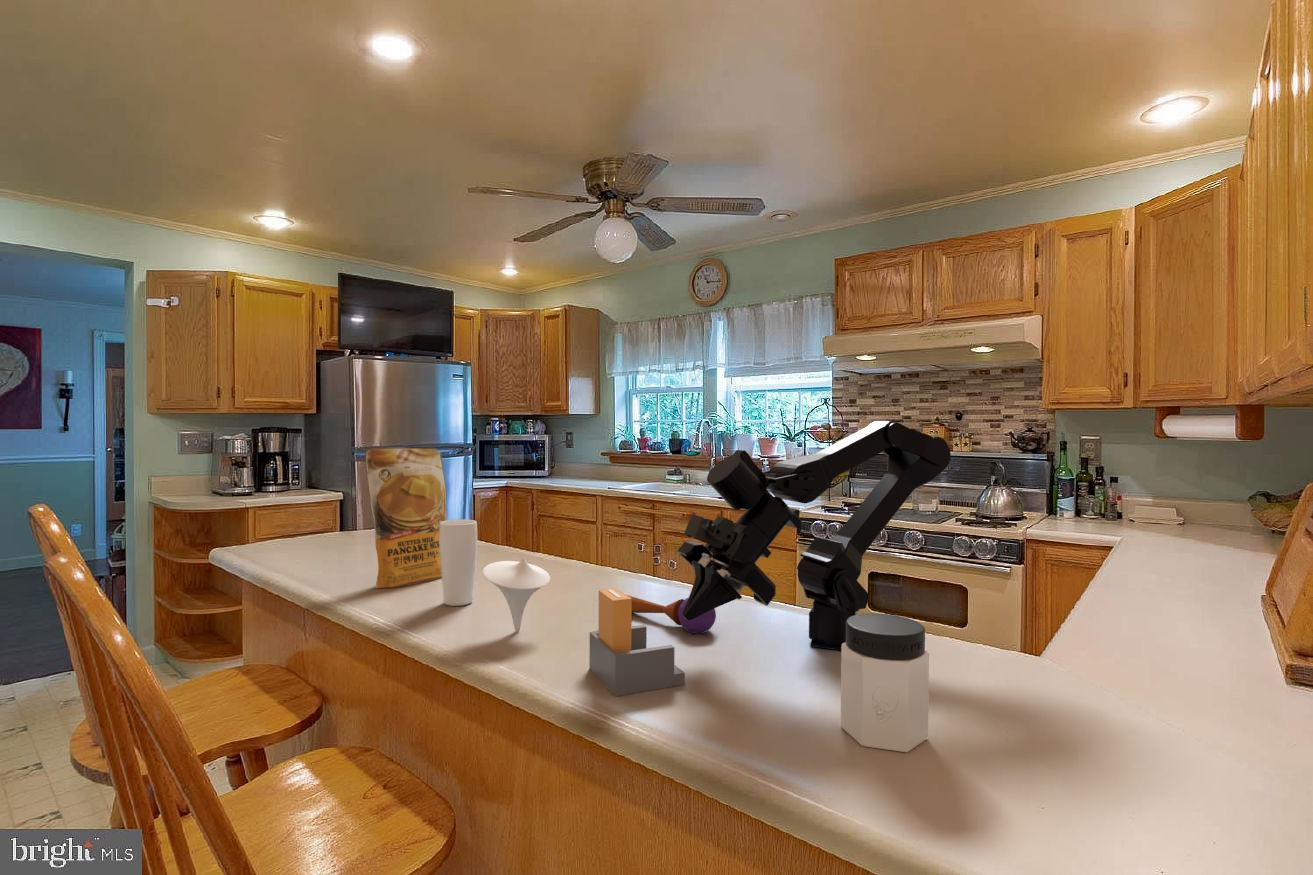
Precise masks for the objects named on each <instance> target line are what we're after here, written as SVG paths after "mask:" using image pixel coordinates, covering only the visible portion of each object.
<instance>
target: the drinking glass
mask: <svg viewBox="0 0 1313 875" xmlns="http://www.w3.org/2000/svg"><path fill="white" fill-rule="evenodd" d="M439 550H440V561H441V572H442V578H441V580H442V592H443V593H442V599H443V600H442V601H443V604H444V605H446V606H450V607H461V606H467V605H469V604H472V603H473V601H474V589H475V588H474V587H475V575H476V574H475V573H476V565H477V564H476V563H477V550H478V521H477V520H473V519H463V518H462V519H460V518H458V519H449V520H447V521H442V522H440V524H439Z"/></svg>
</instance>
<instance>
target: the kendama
mask: <svg viewBox="0 0 1313 875" xmlns="http://www.w3.org/2000/svg"><path fill="white" fill-rule="evenodd" d="M626 595H627V596H629V597H630V598H632V614H664V615H666V617H669V619H670V620H672V621H673V622H674V623H675V624H676V625H677V626H680V627H682V628H683V629H684V630H686V631H687V632H688V633H691V634H695V635H701V634H703V633H704V634H705V633H706V632H709V631H710V630H711V628H712V627H713V625H714V624H715V622H716V619H717V611H716V608H715V609H712V610H710V611H708V612H706V613H704V614H702V615H700V616H698V617H696V618H694V619H692V620H690V621H689V620H687V619H685V618H684V617H683V615H682V613H683V611H684V608H685V606H686V603H687V601H688V598H689V597H687V598H685V599H684V598H681V599H678V600H675V601H674V602H671V603H669V604H668V605H662V604H659V603H655V602H652V601H648V600H645V599H643V598H638V597H635V596H631V595H630V594H629V595H628V594H626Z"/></svg>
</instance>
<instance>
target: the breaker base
mask: <svg viewBox="0 0 1313 875" xmlns="http://www.w3.org/2000/svg"><path fill="white" fill-rule="evenodd" d="M647 629H648V628H647V625H645V624H641V625H640V624H639V625H633V626H632V625H631V651H625V652H618V653H616V652H615V651H614V650H613V649H612V648H611V647H610V646H608V645H607V644H606V643H605V642H604V641H603V640H602V639H601V638H600V637H599V630H596V631H595V630H593V631H590V632H589V664H588V665H589V670H590V671H591V672H592V673H593V674H594V675H595V676H596V677H597V679H598V680H600V681H601V684H603V685H604V686H605V687H606V688H607V689H608V691H610V692H611V694H612V695H613V696H614V697H621V696H626V695H633V694H637V693H644V692H649V691H655V690H660V689H665V688H666V689H667V688H671V687H672V688H673V687H678V686H683V685H685V684H686V680H685V679H686V672H685V671H683V670H682V669H681V668H679V667H678V666H677V665H676V664H675V646H674V645H672V644H666V645H661V646H654V647H647V642H648V641H647V638H648V637H647V631H648V630H647Z"/></svg>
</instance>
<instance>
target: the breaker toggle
mask: <svg viewBox="0 0 1313 875" xmlns="http://www.w3.org/2000/svg"><path fill="white" fill-rule="evenodd" d="M627 595H628V594H626V593H624V592H622V591H621V590H619V589H618V588H617V587H615V588H608V589H606V588H605V589H599V590H598V631H599V637H600V638H601V639H602V640H603V641H604V642H605V643H606V644H607V645H608V646H610V647H611V648H612V649H613V650H614V651H615V652H616V653H618V652H625V651H631V627H632V615H633V613H632V598H630V597H629V596H630V595H629V596H627Z"/></svg>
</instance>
